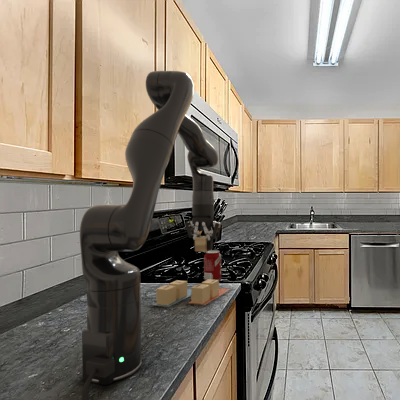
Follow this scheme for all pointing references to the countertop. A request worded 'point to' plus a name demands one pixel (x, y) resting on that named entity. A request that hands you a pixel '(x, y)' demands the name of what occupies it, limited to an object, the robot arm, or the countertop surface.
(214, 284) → the wooden blocks on tray
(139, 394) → the countertop surface
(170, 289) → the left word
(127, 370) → the robot arm
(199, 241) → the small cardboard box
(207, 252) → the soda can
